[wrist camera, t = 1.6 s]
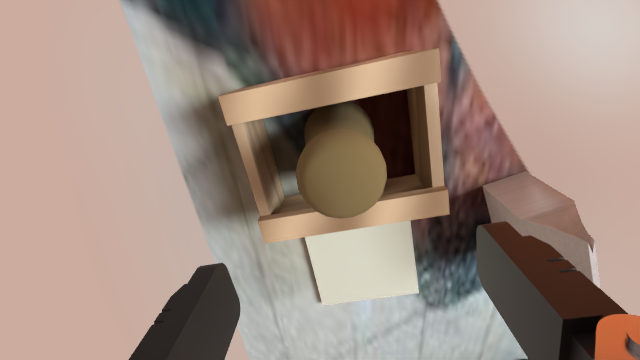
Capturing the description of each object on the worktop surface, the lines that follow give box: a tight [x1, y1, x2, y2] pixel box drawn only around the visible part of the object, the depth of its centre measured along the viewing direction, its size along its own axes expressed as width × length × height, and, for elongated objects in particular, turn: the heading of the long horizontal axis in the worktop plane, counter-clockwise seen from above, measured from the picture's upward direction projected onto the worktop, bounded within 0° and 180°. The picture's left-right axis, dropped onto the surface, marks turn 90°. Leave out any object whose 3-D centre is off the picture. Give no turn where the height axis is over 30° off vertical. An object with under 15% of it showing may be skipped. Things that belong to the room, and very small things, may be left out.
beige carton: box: [482, 171, 600, 288], centre depth 24 cm, size 4×7×10 cm, turn 23°
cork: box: [296, 101, 387, 219], centre depth 21 cm, size 6×6×11 cm
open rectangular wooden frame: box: [218, 48, 450, 243], centre depth 24 cm, size 14×11×6 cm
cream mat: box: [305, 221, 419, 305], centre depth 31 cm, size 10×10×1 cm
